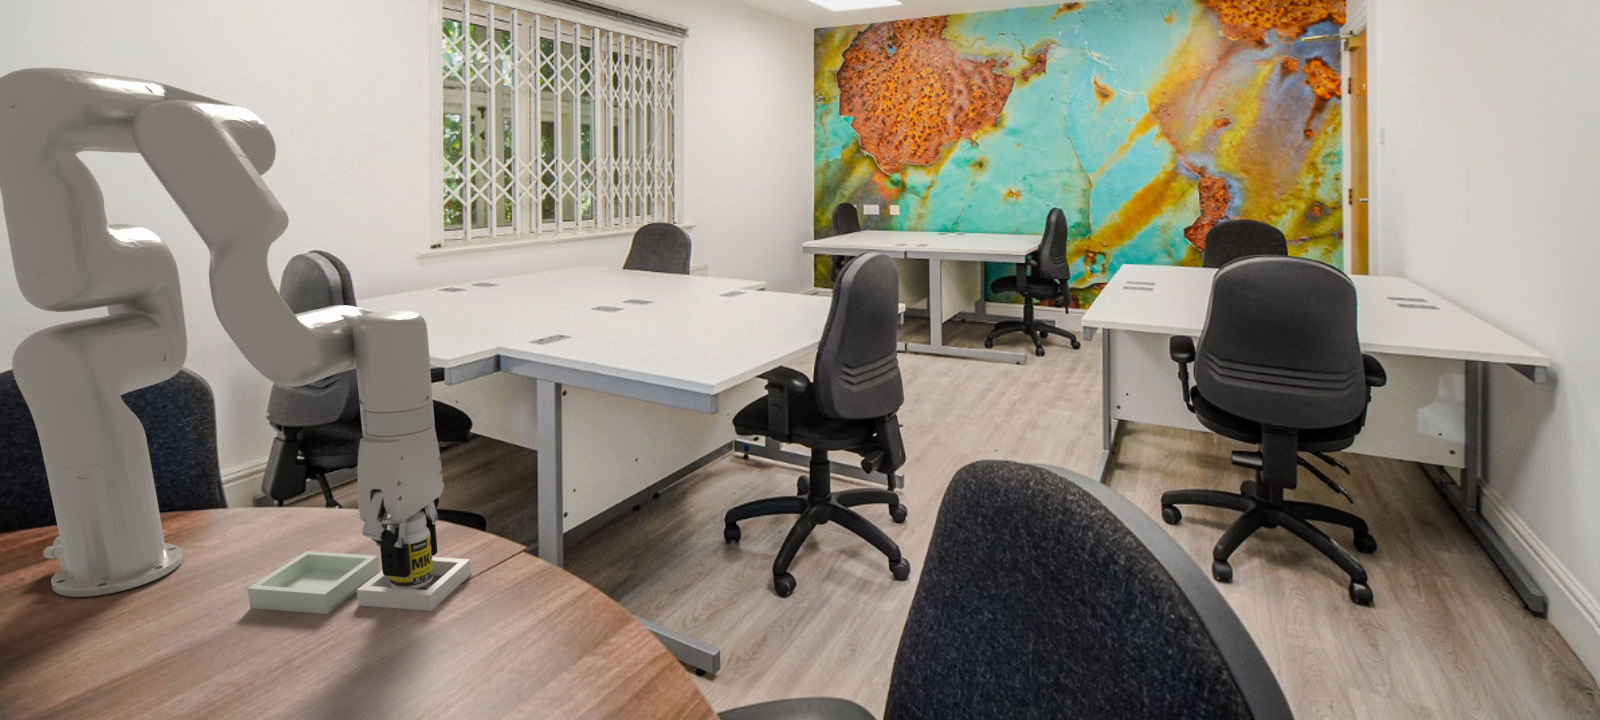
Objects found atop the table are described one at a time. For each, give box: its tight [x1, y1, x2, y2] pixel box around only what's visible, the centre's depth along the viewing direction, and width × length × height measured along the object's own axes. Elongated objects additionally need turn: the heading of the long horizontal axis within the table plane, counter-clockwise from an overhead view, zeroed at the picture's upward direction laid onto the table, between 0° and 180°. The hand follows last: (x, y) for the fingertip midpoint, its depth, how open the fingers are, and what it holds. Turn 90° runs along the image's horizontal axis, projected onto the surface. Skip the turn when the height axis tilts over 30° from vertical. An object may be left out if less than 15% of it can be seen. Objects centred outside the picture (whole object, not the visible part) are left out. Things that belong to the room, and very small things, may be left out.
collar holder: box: [356, 556, 472, 612], centre depth 99 cm, size 9×9×2 cm
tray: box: [247, 550, 381, 615], centre depth 98 cm, size 10×10×2 cm
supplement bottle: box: [388, 511, 434, 590], centre depth 98 cm, size 5×5×8 cm
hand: (410, 563), depth 98 cm, fingers closed on supplement bottle, 4 cm apart
